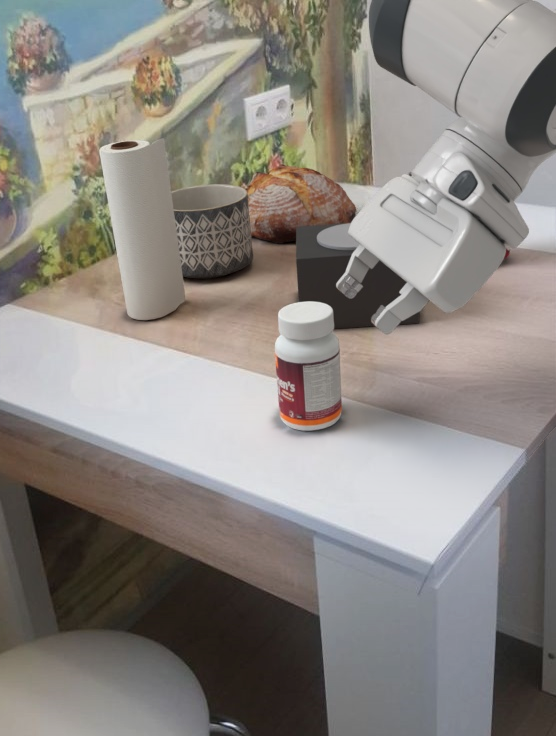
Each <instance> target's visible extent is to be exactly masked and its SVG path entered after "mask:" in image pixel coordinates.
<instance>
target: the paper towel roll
mask: <svg viewBox="0 0 556 736" xmlns="http://www.w3.org/2000/svg"><path fill="white" fill-rule="evenodd" d="M165 143H166V141H165V138H164V137H162V138H159V139H157V140H155V141H153V142H152V143H150V142H149V141H147V140H141V139H135V140H134V139H132V140H131V139H130V140H123V141H117V142H111V143H108V144H105V145H103V146H101V147H99V150H98V152H99V158H100V164H101V171H102V174H103V181H104V186H105V192H106V197H107V198H106V199H107V204H108V210H109V217H110V222H111V227H112V234H113V238H114V243H115V244H114V246H115V249H116V256H117V262H118V267H119V273H120V279H121V286H122V291H123V296H124V303H125V309H126V313H127V315H128V317H129V318H130V319H134V320H139V321H148V320H156V319H160V318H163V317H165V316H167V315H169V314H171V313H172V312H174V311H176V310H177V308H178V307H179V306H180V305H181V304H183V303H184V302H186V301H187V299H186V291H185V290H186V289H185V283H184V277H183V276H182V268H181V261H180V253H179V246H178V239H177V231H176V224H175V216H174V209H173V202H172V194H171V192H172V188H171V187H172V186H171V181H170V173H169V165H168V159H167V151H166V144H165Z"/></svg>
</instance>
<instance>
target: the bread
mask: <svg viewBox="0 0 556 736" xmlns="http://www.w3.org/2000/svg"><path fill="white" fill-rule="evenodd" d="M244 189H245V190H246V191H247V193H248V204H249V216H250V227H251V237H255V238H257V239H260V240H263V241H268V242H272V243H276V244H283V243H289V242H296V227H301V226H314V225H327V224H340V223H351V222H352V220H353V219H354V218H355V216H356V215H357V214H356V213H357V212H358V211H357V207H356V205H355V204H354V202H353V201H352V199H350V197H349V195H348V194H347V192H346V190H344V188H343V187H342V185H341V184H340V183H337V182H335V181H334V180H333V179H331V178H330V177H328V176H326V175H325V174H323V173H321V172H319V171H318V170H315V169H312V168H308V167H298V166H294V165H287V164H284V163H280V164H279V165H277V166H275V168H272V169H270V170H269V171H268V172H267V173H266V172H262V171H261V172H260V171H255V172H254V173H253V175H252V178H251V181H250V182H249V184H248V186H247V187H245V188H244Z"/></svg>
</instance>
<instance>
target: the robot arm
mask: <svg viewBox="0 0 556 736" xmlns="http://www.w3.org/2000/svg"><path fill="white" fill-rule="evenodd" d="M368 32H369V39H370V44H371V50H372V53H373V57H374V60H375V62H376V63H377V65H378V66H379V67H380V68H382V70H383V69H384V70H385V71H387V72H389V73H390V74H392V75H394V76H396V77H398V78H399V79H401V80H402V81H404V82H406V83H408V84H409V85H412V86H414V87H417V88H419V90H421V91H423V92H424V93H425V94H427V95H428V96H430V97H431V98H432V99H434V100H435V101H437V102H438V103H439V104H441V106H443V107H445V108H446V109H448V110H449V111H450V112H452V113H453V114H454V115H455V116H457V117H458V118H456V119H455V120H454V121H453V122H451V123H450V124H449V125H448V126H447V127H446V128H445V129H444V131H443V132H442V133H441V134H440V135H439V137H438V138H436V140H435V141H434V143H432V144H431V146H430V147H429V149H428V150H427V152H425V153H424V154H423V156H422V157H421V159H420V160H419V161H418V163H417V164H416V165H415V166H414V167H413V168H412V170H411V171H409V172H408V173H403V174H401V175H400V176H395V177H393V178H391V179H390V180H388V181H387V182H386V183H385V184H384V185H383V186H382V187H381V188H380V189H379V190H378V191H377V192H376V193H375V194H374V195H373V196H372V197H371V198H370V200H369V201H368V202H367V203H366V204H365V205H364V206H363V207H362V208H361V209H360V210H359V212H358V213H357V214H355V215H356V216H355V218H354V219H353V220H352V222H351V224H350V227H349V230H348V234H349V235H350V236H351V237H352V238H353V239H354V240H355V241H356V242H358V243H359V244H360V245H359V246H358V247H357V248H356V249H355V251H354V252H353V253H352V255H351V258H350V261H349V263H348V266H347V268H346V272H345V273H344V274H343V276H342V277H341V278H340V279H339V281H338V282H337V284H336V287H337V289H338V290H339V291H340V292H342V293H343V294H344V295H345V296H347V297H348V298H349V299H352V298H354V297H355V296H356V294H357V293H358V292H359V291H360V290H361V289H362V287H363V286H362V285H361V284H360V283H361V282H362V280H363V279H364V277H365V275H366V273H367V271H368V269H369V268H371V269H373V267H374V266H375V265H376V264H377V263H378V261H379V260H380V261H381V262H383V263H384V264H385V265H386V266H387V267H389V268H390V269H391V270H392V271H394V272H395V273H396V274H397V275H399V276H400V277H401V278H402V279H404V280H405V281H406V282H407V283H406V284H405V285H404V287H403V288H402V289H401V290H400V292H399V293H400V294H401V295H400V296H399V297H398V298H397V299H395V300H394V301H393V302H391V303H390V304H389V305H387V306H386V308H385V307H384V306H383V305H381V306H380V307H379V309H378V310H377V312H376V313H375V314H373V316H372V317H371V322H372V323H373V324H374V325H375V326H374V327H376V328H377V329H378V330H379V331H381V332H382V333H383V334H384V335H390V334H392V333H393V332H394V331H395V329H396V328H397V327H398V326H399V325H398V324H399V323H400V322H401V321H403V320H405V319H407V318H409V317H410V316H412V315H414V314H416V313H418V312H419V313H420V312H421V311H423V309H424V308H425V306H426V305H427V304H428V303H429V302H431V303H432V304H433V305H435V306H436V307H437V308H439V310H441V311H442V312H444V313H445V314H450V313H454V311H457V310H459V309H461V308H463V307H464V306H465V305H466V304H467V303H469V301H471V299H473V297H474V296H475V295H476V294H477V292H479V291H480V289H482V287H483V286H484V285H485V284H486V283H487V281H489V279H490V278H491V277H492V275H493V274H495V272H496V271H497V270H498V268H499V267H500V266H501V264H502V263H503V261H504V260H505V259H504V257H505V254H506V248H505V246H506V247H508V248H510V250H514V249H516V248H518V247H519V246H520V245H521V244H522V243H523V242H524V241H525V239H526V238H528V235H529V234H530V229H529V226H528V224H527V223H526V221H525V220H524V218H523V215H522V214H521V212H520V210H519V208H518V206H517V204H516V203H515V202H516V200H517V199H518V198H519V197H520V196H521V194H523V192H524V191H525V189H526V188H527V185H528V183H529V181H530V180H531V177H532V176H533V174H534V172H535V171H536V170H537V169H538V168H539V167H540V166H541V165H542V164H543V163H544V162H545V161H546V160H548V159H550V157H553V155H555V154H556V8H555V9H553V10H551V9H549V8H548V7H546V6H545V5H543V4H542V3H541V2H538V1H536V0H371V2H370V5H369V9H368ZM503 259H504V260H503Z"/></svg>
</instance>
